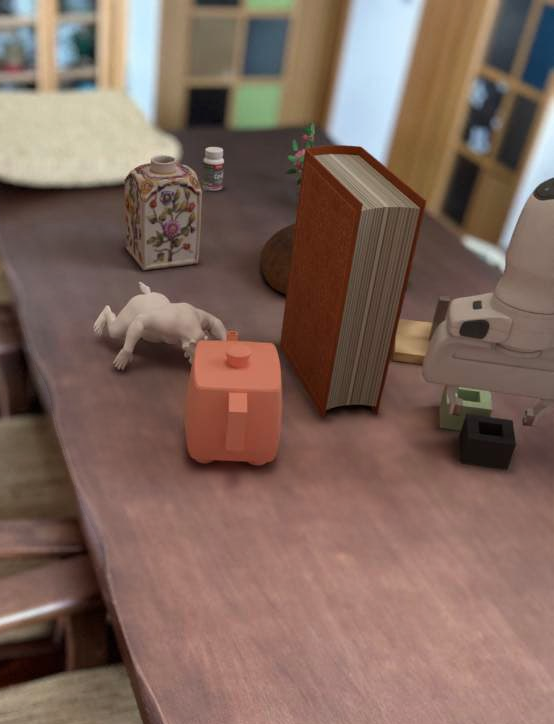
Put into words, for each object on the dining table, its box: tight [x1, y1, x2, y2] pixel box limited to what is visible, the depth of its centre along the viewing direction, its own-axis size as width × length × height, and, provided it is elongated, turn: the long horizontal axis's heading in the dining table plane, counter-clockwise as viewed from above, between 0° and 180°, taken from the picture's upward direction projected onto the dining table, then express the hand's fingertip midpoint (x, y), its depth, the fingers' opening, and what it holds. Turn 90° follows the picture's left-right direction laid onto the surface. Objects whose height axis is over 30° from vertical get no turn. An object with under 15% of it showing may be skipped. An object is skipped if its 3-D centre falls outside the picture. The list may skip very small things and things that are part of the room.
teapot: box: [184, 330, 283, 466], centre depth 108 cm, size 22×13×14 cm, turn 177°
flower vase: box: [284, 122, 324, 186], centre depth 181 cm, size 12×12×35 cm
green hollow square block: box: [438, 385, 493, 432], centre depth 116 cm, size 6×6×4 cm
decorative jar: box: [124, 154, 203, 272], centre depth 154 cm, size 12×12×18 cm
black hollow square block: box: [458, 414, 517, 471], centre depth 110 cm, size 6×6×4 cm
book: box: [279, 144, 427, 420], centre depth 116 cm, size 23×8×30 cm, turn 9°
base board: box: [392, 295, 451, 365], centre depth 130 cm, size 12×12×8 cm
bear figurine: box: [92, 281, 228, 371], centre depth 128 cm, size 17×13×20 cm
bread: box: [259, 222, 414, 295], centre depth 151 cm, size 28×27×9 cm
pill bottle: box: [201, 146, 225, 192], centre depth 187 cm, size 5×5×8 cm
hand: (490, 418), depth 107 cm, fingers open, 8 cm apart
